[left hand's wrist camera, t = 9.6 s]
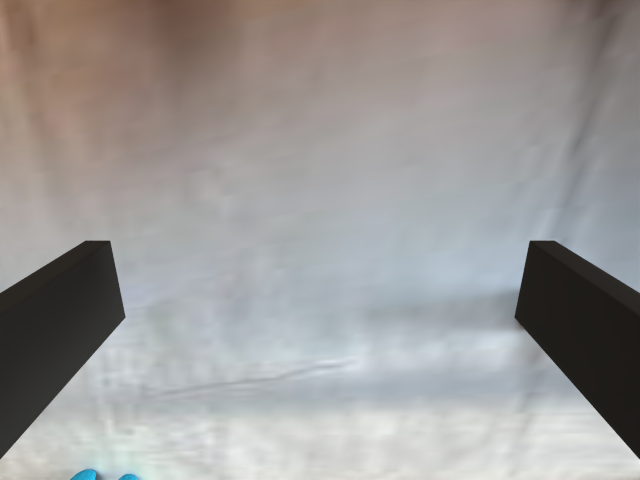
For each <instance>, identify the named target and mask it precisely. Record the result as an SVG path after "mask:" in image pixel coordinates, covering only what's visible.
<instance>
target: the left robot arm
mask: <svg viewBox="0 0 640 480" xmlns="http://www.w3.org/2000/svg"><path fill="white" fill-rule="evenodd" d="M124 318H125V313H124V308H123V303H122V298H121V293H120V288H119V283H118V278H117V273H116V268H115V263H114V258H113V253H112V248H111V243H110V241H84V242H83V243H81V244H79V245H78V246H76V247H75V248H73V249H71V250H70V251H68V252H66V253H65V254H63V255H62V256H60V257H58V258H57V259H55V260H53V261H52V262H50V263H49V264H47V265H45V266H44V267H42V268H40V269H39V270H37V271H36V272H34V273H32V274H31V275H29V276H27V277H26V278H24V279H23V280H21V281H19V282H18V283H16V284H14V285H13V286H11V287H10V288H8V289H6V290H5V291H3V292H1V293H0V459H1V458H2V457H3V456H4V455H5V453H6V452H7V451H8V450H9V449H10V448H11V447H12V445H13V444H14V443H15V442H16V441H17V440H18V439H19V438H20V436H21V435H22V434H23V433H24V432H25V431H26V430H27V428H28V427H29V426H30V425H31V424H32V423H33V422H34V421H35V419H36V418H37V417H38V416H39V415H40V414H41V413H42V411H43V410H44V409H45V408H46V407H47V406H48V405H49V404H50V402H51V401H52V400H53V399H54V398H55V397H56V396H57V394H58V393H59V392H60V391H61V390H62V389H63V388H64V386H65V385H66V384H67V383H68V382H69V381H70V380H71V379H72V377H73V376H74V375H75V374H76V373H77V372H78V371H79V369H80V368H81V367H82V366H83V365H84V364H85V363H86V362H87V360H88V359H89V358H90V357H91V356H92V355H93V354H94V352H95V351H96V350H97V349H98V348H99V347H100V346H101V344H102V343H103V342H104V341H105V340H106V339H107V338H108V337H109V335H110V334H111V333H112V332H113V331H114V330H115V329H116V327H117V326H118V325H119V324H120V323H121V322H122V321H123V320H124ZM515 318H516V320H517V321H518V322H519V323H520V324H521V325H522V326H523V327H524V329H525V330H526V331H527V332H528V333H529V334H530V335H531V337H532V338H533V339H534V340H535V341H536V342H537V343H538V344H539V346H540V347H541V348H542V349H543V350H544V351H545V352H546V354H547V355H548V356H549V357H550V358H551V359H552V360H553V362H554V363H555V364H556V365H557V366H558V367H559V368H560V369H561V371H562V372H563V373H564V374H565V375H566V376H567V377H568V379H569V380H570V381H571V382H572V383H573V384H574V385H575V386H576V388H577V389H578V390H579V391H580V392H581V393H582V394H583V396H584V397H585V398H586V399H587V400H588V401H589V402H590V404H591V405H592V406H593V407H594V408H595V409H596V410H597V411H598V413H599V414H600V415H601V416H602V417H603V418H604V419H605V421H606V422H607V423H608V424H609V425H610V426H611V427H612V428H613V430H614V431H615V432H616V433H617V434H618V435H619V436H620V438H621V439H622V440H623V441H624V442H625V443H626V444H627V445H628V447H629V448H630V449H631V450H632V451H633V452H634V453H635V455H636V456H637V457H638V458H639V459H640V293H639V292H637V291H635V290H634V289H632V288H630V287H629V286H627V285H626V284H624V283H622V282H621V281H619V280H617V279H616V278H614V277H613V276H611V275H609V274H608V273H606V272H604V271H603V270H601V269H600V268H598V267H596V266H595V265H593V264H591V263H590V262H588V261H587V260H585V259H583V258H582V257H580V256H578V255H577V254H575V253H574V252H572V251H570V250H569V249H567V248H565V247H564V246H562V245H561V244H559V243H557V242H556V241H530V243H529V248H528V253H527V258H526V263H525V268H524V273H523V278H522V283H521V288H520V293H519V298H518V303H517V308H516V313H515Z"/></svg>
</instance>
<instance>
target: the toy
mask: <svg viewBox="0 0 640 480" xmlns="http://www.w3.org/2000/svg"><path fill="white" fill-rule="evenodd" d="M95 478H96V473H95V471H94V470H83V471H81V472H79V473H77V474H76V475H75V476H74V477H73V478H72V479H70V480H95ZM119 480H137V478H136V477H135V476H134V475H132V474H126V475H123V476H122V477H121V478H120V479H119Z"/></svg>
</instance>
